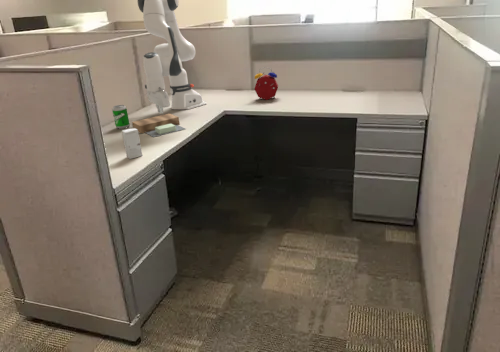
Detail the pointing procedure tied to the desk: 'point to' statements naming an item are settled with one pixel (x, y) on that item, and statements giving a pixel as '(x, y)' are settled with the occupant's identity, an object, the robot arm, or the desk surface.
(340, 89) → the desk surface
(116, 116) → the soda can
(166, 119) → the brown wooden flat block
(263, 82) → the alarm clock
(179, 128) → the mat
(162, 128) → the mint green box
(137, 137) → the skincare box
